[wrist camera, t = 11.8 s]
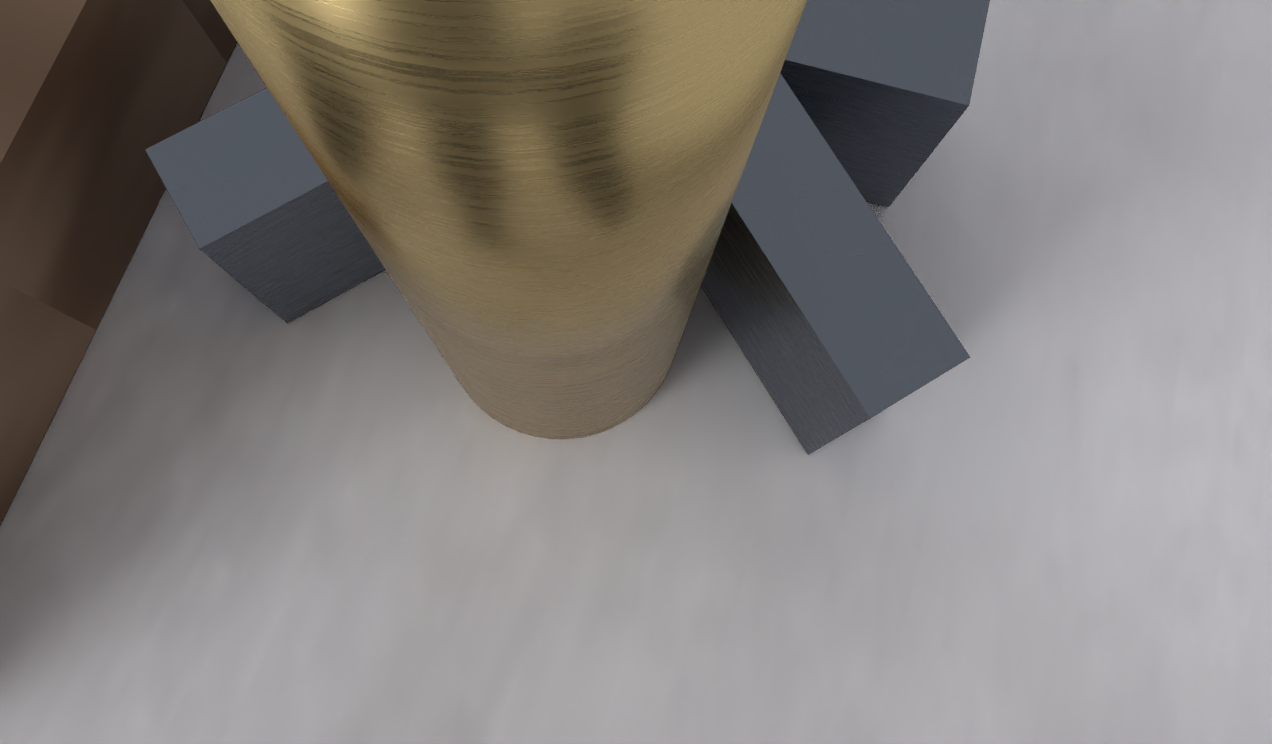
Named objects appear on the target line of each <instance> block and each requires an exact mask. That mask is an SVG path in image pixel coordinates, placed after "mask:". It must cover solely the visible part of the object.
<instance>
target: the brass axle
mask: <svg viewBox="0 0 1272 744" xmlns="http://www.w3.org/2000/svg"><path fill="white" fill-rule="evenodd" d="M210 1H211V2H212V4H213V5H214V7H215V8H216V10H217V11H218V13H219V14H220V16H221V18H222V19H223V21H224V22H225V24H226V25H227V27H228V28H229V30H230V31H231V33H232V34H233V36H234V37H235V39H236V41H237V42H238V44H239V45H240V47H241V48H242V50H243V51H244V53H245V54H246V56H247V57H248V59H249V60H250V62H251V64H252V65H253V67H254V68H255V70H256V71H257V73H258V74H259V76H260V77H261V79H262V80H263V82H264V84H265V85H266V87H267V88H268V90H269V91H270V93H271V94H272V96H273V97H274V99H275V100H276V102H277V103H278V105H279V107H280V108H281V110H282V111H283V113H284V114H285V116H286V117H287V119H288V120H289V122H290V123H291V125H292V126H293V128H294V130H295V131H296V133H297V134H298V136H299V137H300V139H301V140H302V142H303V143H304V145H305V146H306V148H307V149H308V151H309V153H310V154H311V156H312V157H313V159H314V160H315V162H316V163H317V165H318V166H319V168H320V169H321V171H322V172H323V174H324V176H325V177H326V179H327V180H328V182H329V183H330V185H331V186H332V188H333V189H334V191H335V192H336V194H337V196H338V197H339V199H340V200H341V202H342V203H343V205H344V206H345V208H346V209H347V211H348V212H349V214H350V215H351V217H352V219H353V220H354V222H355V223H356V225H357V226H358V228H359V229H360V231H361V232H362V234H363V235H364V237H365V238H366V240H367V242H368V243H369V245H370V246H371V248H372V249H373V251H374V252H375V254H376V255H377V257H378V258H379V260H380V261H381V263H382V265H383V266H384V268H385V269H386V271H387V272H388V274H389V275H390V277H391V278H392V280H393V281H394V283H395V284H396V286H397V288H398V289H399V291H400V292H401V294H402V295H403V297H404V298H405V300H406V301H407V303H408V304H409V306H410V308H411V309H412V311H413V312H414V314H415V315H416V317H417V318H418V320H419V321H420V323H421V324H422V326H423V327H424V329H425V331H426V332H427V334H428V335H429V337H430V338H431V340H432V341H433V343H434V344H435V346H436V347H437V349H438V350H439V352H440V354H441V355H442V357H443V358H444V360H445V361H446V363H447V364H448V366H449V367H450V369H451V370H452V372H453V373H454V375H455V377H456V378H457V380H458V381H459V383H460V384H461V386H462V387H463V388H464V390H465V391H466V393H467V394H468V395H469V397H470V398H471V399H472V400H473V401H474V402H475V403H476V404H477V405H478V406H479V407H480V408H481V409H482V410H483V411H484V412H486V413H487V414H488V415H489V416H491V417H492V418H493V419H495V420H497V421H498V422H500V423H502V424H503V425H505V426H507V427H509V428H512V429H514V430H516V431H519V432H521V433H525V434H528V435H532V436H535V437H542V438H548V439H573V438H581V437H586V436H590V435H594V434H598V433H600V432H603V431H606V430H608V429H611V428H613V427H615V426H616V425H618V424H620V423H622V422H624V421H626V420H627V419H628V418H630V417H631V416H632V415H634V414H635V413H636V412H638V411H639V410H640V409H641V408H642V407H643V406H644V405H645V404H646V403H647V402H648V401H649V400H650V399H651V398H652V396H653V395H654V394H655V393H656V391H657V390H658V389H659V387H660V386H661V384H662V382H663V381H664V379H665V377H666V376H667V373H668V371H669V369H670V366H671V364H672V362H673V359H674V356H675V353H676V351H677V348H678V345H679V343H680V340H681V337H682V335H683V332H684V329H685V327H686V324H687V321H688V319H689V316H690V313H691V310H692V308H693V305H694V302H695V300H696V297H697V294H698V292H699V289H700V286H701V284H702V281H703V278H704V276H705V273H706V270H707V268H708V265H709V262H710V259H711V257H712V254H713V251H714V249H715V246H716V243H717V241H718V238H719V235H720V233H721V230H722V227H723V225H724V222H725V219H726V217H727V214H728V211H729V208H730V206H731V203H732V200H733V198H734V195H735V192H736V190H737V187H738V184H739V182H740V179H741V176H742V174H743V171H744V168H745V165H746V163H747V160H748V157H749V155H750V152H751V149H752V147H753V144H754V141H755V139H756V136H757V133H758V131H759V128H760V125H761V123H762V120H763V117H764V114H765V112H766V109H767V106H768V104H769V101H770V98H771V96H772V93H773V90H774V88H775V85H776V82H777V80H778V77H779V74H780V72H781V69H782V66H783V63H784V61H785V58H786V55H787V53H788V50H789V47H790V45H791V42H792V39H793V37H794V34H795V31H796V29H797V26H798V23H799V20H800V18H801V15H802V12H803V10H804V7H805V4H806V2H807V0H210Z"/></svg>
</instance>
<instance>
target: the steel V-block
mask: <svg viewBox="0 0 1272 744" xmlns="http://www.w3.org/2000/svg"><path fill="white" fill-rule="evenodd" d="M989 2H990V0H807V2H806V4H805V7H804V10H803V12H802V15H801V18H800V20H799V23H798V26H797V29H796V31H795V34H794V37H793V39H792V42H791V45H790V47H789V50H788V53H787V55H786V58H785V61H784V63H783V66H782V69H781V72H780V74H779V77H778V80H777V82H776V85H775V88H774V90H773V93H772V96H771V98H770V101H769V104H768V106H767V109H766V112H765V114H764V117H763V120H762V123H761V125H760V128H759V131H758V133H757V136H756V139H755V141H754V144H753V147H752V149H751V152H750V155H749V157H748V160H747V163H746V165H745V168H744V171H743V174H742V176H741V179H740V182H739V184H738V187H737V190H736V192H735V195H734V198H733V200H732V203H731V206H730V208H729V211H728V214H727V217H726V219H725V222H724V225H723V227H722V230H721V233H720V235H719V238H718V241H717V243H716V246H715V249H714V251H713V254H712V257H711V259H710V262H709V265H708V268H707V270H706V273H705V276H704V278H703V281H702V284H701V286H702V288H703V289H704V291H705V292H706V294H707V296H708V297H709V299H710V300H711V302H712V303H713V305H714V307H715V308H716V310H717V311H718V313H719V315H720V316H721V318H722V319H723V321H724V323H725V324H726V326H727V327H728V329H729V330H730V332H731V334H732V335H733V337H734V338H735V340H736V342H737V343H738V345H739V346H740V348H741V349H742V351H743V353H744V354H745V356H746V357H747V359H748V361H749V362H750V364H751V365H752V367H753V369H754V370H755V372H756V373H757V375H758V376H759V378H760V380H761V381H762V383H763V384H764V386H765V388H766V389H767V391H768V392H769V394H770V396H771V397H772V399H773V400H774V402H775V403H776V405H777V407H778V408H779V410H780V411H781V413H782V415H783V416H784V418H785V419H786V421H787V423H788V424H789V426H790V427H791V429H792V430H793V432H794V434H795V435H796V437H797V438H798V440H799V442H800V443H801V445H802V446H803V448H804V449H805V451H806V453H807V454H808V455H809V454H810V453H812V452H814V451H815V450H817V449H819V448H821V447H822V446H824V445H826V444H827V443H829V442H831V441H832V440H834V439H836V438H838V437H839V436H841V435H843V434H844V433H846V432H848V431H849V430H851V429H853V428H854V427H856V426H858V425H860V424H861V423H863V422H865V421H866V420H868V419H870V418H871V417H873V416H875V415H876V414H878V413H880V412H881V411H883V410H885V409H886V408H888V407H889V406H891V405H893V404H894V403H896V402H898V401H899V400H901V399H903V398H904V397H906V396H907V395H909V394H911V393H912V392H914V391H916V390H917V389H919V388H921V387H922V386H924V385H926V384H927V383H929V382H930V381H932V380H934V379H935V378H937V377H939V376H940V375H942V374H944V373H945V372H947V371H948V370H950V369H952V368H953V367H955V366H957V365H958V364H960V363H962V362H963V361H965V360H966V359H968V358H970V356H969V355H968V353H967V352H966V350H965V349H964V347H963V346H962V344H961V343H960V341H959V340H958V338H957V337H956V335H955V334H954V332H953V331H952V329H951V328H950V326H949V325H948V323H947V322H946V320H945V319H944V317H943V316H942V314H941V313H940V311H939V310H938V308H937V307H936V305H935V304H934V302H933V301H932V299H931V298H930V296H929V295H928V293H927V292H926V290H925V289H924V287H923V286H922V284H921V283H920V281H919V280H918V278H917V277H916V275H915V274H914V272H913V271H912V269H911V268H910V266H909V265H908V263H907V262H906V260H905V259H904V257H903V256H902V254H901V253H900V251H899V250H898V248H897V247H896V245H895V244H894V243H893V241H892V240H891V238H890V237H889V235H888V234H887V232H886V231H885V229H884V228H883V226H882V225H881V223H880V222H879V220H878V219H877V217H876V216H875V214H874V213H873V211H872V210H871V208H870V207H869V205H868V204H867V202H870V203H874V204H878V205H882V206H886V207H889V206H890V205H891V204H892V202H893V201H894V200H895V198H896V197H897V196H898V195H899V193H900V192H901V191H902V190H903V188H904V187H905V186H906V185H907V183H908V182H909V181H910V180H911V178H912V177H913V176H914V174H915V173H916V172H917V171H918V169H919V168H920V167H921V166H922V164H923V163H924V162H925V161H926V159H927V158H928V157H929V155H930V154H931V153H932V152H933V150H934V149H935V148H936V147H937V145H938V144H939V143H940V142H941V140H942V139H943V138H944V137H945V135H946V134H947V133H948V131H949V130H950V129H951V128H952V126H953V125H954V124H955V123H956V121H957V120H958V119H959V118H960V116H961V115H962V114H963V113H964V111H965V110H966V109H967V107H968V106H969V103H970V98H971V93H972V88H973V83H974V78H975V73H976V68H977V62H978V57H979V52H980V47H981V42H982V37H983V32H984V27H985V22H986V17H987V12H988V7H989ZM145 150H146V152H147V154H148V156H149V157H150V159H151V161H152V163H153V165H154V167H155V168H156V170H157V172H158V174H159V176H160V177H161V179H162V181H163V183H164V185H165V187H166V188H167V190H168V192H169V194H170V196H171V198H172V199H173V201H174V203H175V205H176V207H177V209H178V210H179V212H180V214H181V216H182V218H183V220H184V221H185V223H186V225H187V227H188V229H189V231H190V232H191V234H192V236H193V238H194V240H195V242H196V243H197V245H198V247H199V249H200V250H202V251H203V252H204V253H205V254H206V255H207V256H209V257H210V258H211V259H212V260H213V261H215V262H216V263H217V264H218V265H219V266H220V267H222V268H223V269H224V270H225V271H226V272H228V273H229V274H230V275H231V276H232V277H233V278H235V279H236V280H237V281H238V282H239V283H240V284H242V285H243V286H244V287H245V288H246V289H248V290H249V291H250V292H251V293H252V294H253V295H255V296H256V297H257V298H258V299H259V300H261V301H262V302H263V303H264V304H265V305H266V306H268V307H269V308H270V309H271V310H272V311H274V312H275V313H276V314H277V315H278V316H279V317H281V318H282V319H283V320H284V321H285V322H286V323H289V322H290V321H292V320H294V319H296V318H298V317H300V316H301V315H303V314H305V313H307V312H309V311H311V310H312V309H314V308H316V307H318V306H320V305H322V304H323V303H325V302H327V301H329V300H331V299H333V298H334V297H336V296H338V295H340V294H342V293H344V292H345V291H347V290H349V289H351V288H353V287H355V286H356V285H358V284H360V283H362V282H364V281H366V280H367V279H369V278H371V277H373V276H375V275H377V274H378V273H380V272H382V271H384V270H386V269H385V268H384V266H383V265H382V263H381V261H380V260H379V258H378V257H377V255H376V254H375V252H374V251H373V249H372V248H371V246H370V245H369V243H368V242H367V240H366V238H365V237H364V235H363V234H362V232H361V231H360V229H359V228H358V226H357V225H356V223H355V222H354V220H353V219H352V217H351V215H350V214H349V212H348V211H347V209H346V208H345V206H344V205H343V203H342V202H341V200H340V199H339V197H338V196H337V194H336V192H335V191H334V189H333V188H332V186H331V185H330V183H329V182H328V180H327V179H326V177H325V176H324V174H323V172H322V171H321V169H320V168H319V166H318V165H317V163H316V162H315V160H314V159H313V157H312V156H311V154H310V153H309V151H308V149H307V148H306V146H305V145H304V143H303V142H302V140H301V139H300V137H299V136H298V134H297V133H296V131H295V130H294V128H293V126H292V125H291V123H290V122H289V120H288V119H287V117H286V116H285V114H284V113H283V111H282V110H281V108H280V107H279V105H278V103H277V102H276V100H275V99H274V97H273V96H272V94H271V93H270V91H269V90H268V88H265V89H263V90H261V91H259V92H257V93H255V94H253V95H251V96H249V97H247V98H245V99H243V100H241V101H240V102H238V103H236V104H234V105H232V106H230V107H228V108H226V109H224V110H222V111H220V112H218V113H216V114H214V115H212V116H210V117H208V118H206V119H204V120H202V121H200V122H198V123H196V124H194V125H192V126H190V127H188V128H186V129H184V130H183V131H181V132H179V133H177V134H175V135H173V136H171V137H169V138H167V139H165V140H163V141H161V142H159V143H157V144H155V145H153V146H151V147H149V148H147V149H145Z"/></svg>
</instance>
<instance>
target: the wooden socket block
mask: <svg viewBox="0 0 1272 744" xmlns="http://www.w3.org/2000/svg"><path fill="white" fill-rule="evenodd" d="M236 43H237V41H236V39H235V37H234V36H233V34H232V33H231V31H230V30H229V28H228V27H227V25H226V24H225V22H224V21H223V19H222V18H221V16H220V14H219V13H218V11H217V10H216V8H215V7H214V5H213V4H212V2H211V1H210V0H0V525H1V523H2V521H3V519H4V517H5V515H6V512H7V510H8V508H9V506H10V504H11V502H12V500H13V498H14V496H15V494H16V492H17V490H18V488H19V486H20V484H21V482H22V480H23V478H24V476H25V474H26V472H27V470H28V468H29V466H30V464H31V461H32V459H33V457H34V455H35V453H36V451H37V449H38V447H39V445H40V443H41V441H42V439H43V437H44V435H45V433H46V431H47V429H48V427H49V425H50V423H51V421H52V419H53V417H54V415H55V412H56V410H57V408H58V406H59V404H60V402H61V400H62V398H63V396H64V394H65V392H66V390H67V388H68V386H69V384H70V382H71V380H72V378H73V376H74V374H75V372H76V370H77V368H78V366H79V363H80V361H81V359H82V357H83V355H84V353H85V351H86V349H87V347H88V345H89V343H90V341H91V339H92V337H93V335H94V333H95V331H96V329H97V327H98V325H99V323H100V321H101V319H102V317H103V314H104V312H105V310H106V308H107V306H108V304H109V302H110V300H111V298H112V296H113V294H114V292H115V290H116V288H117V286H118V284H119V282H120V280H121V278H122V276H123V274H124V272H125V270H126V268H127V266H128V263H129V261H130V259H131V257H132V255H133V253H134V251H135V249H136V247H137V245H138V243H139V241H140V239H141V237H142V235H143V233H144V231H145V229H146V227H147V225H148V223H149V221H150V219H151V217H152V214H153V212H154V210H155V208H156V206H157V204H158V202H159V200H160V198H161V196H162V194H163V192H164V190H165V188H166V187H165V185H164V183H163V181H162V179H161V177H160V176H159V174H158V172H157V170H156V168H155V167H154V165H153V163H152V161H151V159H150V157H149V156H148V154H147V152H146V150H145V149H147V148H149V147H151V146H153V145H155V144H157V143H159V142H161V141H163V140H165V139H167V138H169V137H171V136H173V135H175V134H177V133H179V132H181V131H183V130H184V129H186V128H188V127H190V126H192V125H194V124H196V123H198V121H199V119H200V117H201V114H202V112H203V110H204V108H205V106H206V104H207V102H208V100H209V98H210V96H211V94H212V92H213V90H214V88H215V86H216V84H217V82H218V80H219V78H220V76H221V74H222V72H223V70H224V68H225V65H226V63H227V61H228V59H229V57H230V55H231V53H232V51H233V49H234V47H235V45H236Z"/></svg>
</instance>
